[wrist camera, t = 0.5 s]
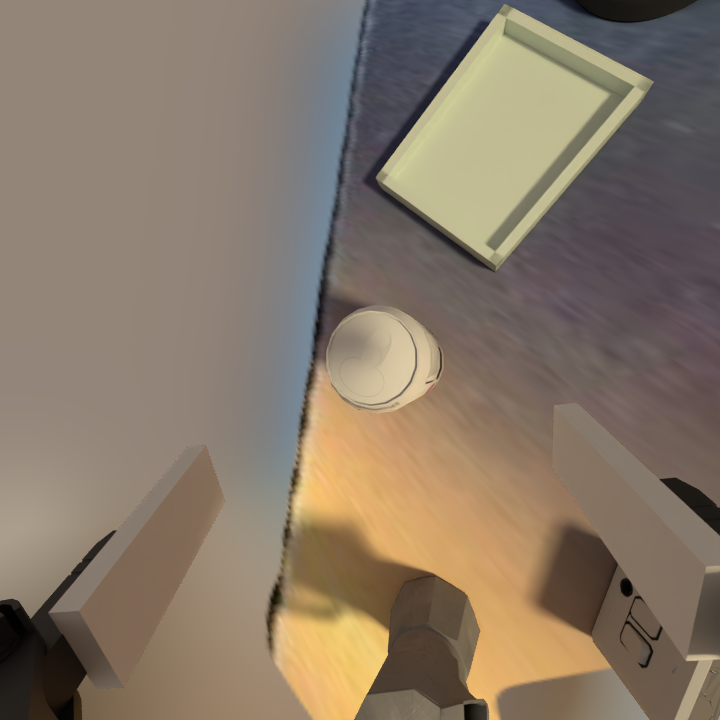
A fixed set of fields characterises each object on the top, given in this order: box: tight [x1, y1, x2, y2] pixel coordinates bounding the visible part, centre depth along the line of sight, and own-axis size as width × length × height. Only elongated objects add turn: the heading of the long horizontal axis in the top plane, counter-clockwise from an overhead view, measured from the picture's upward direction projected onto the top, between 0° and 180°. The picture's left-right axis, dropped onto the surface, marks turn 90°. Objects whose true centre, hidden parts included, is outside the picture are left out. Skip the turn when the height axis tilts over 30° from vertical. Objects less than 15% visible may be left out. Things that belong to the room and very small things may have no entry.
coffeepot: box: [354, 576, 489, 720], centre depth 32 cm, size 15×9×18 cm, turn 132°
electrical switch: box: [592, 564, 720, 720], centre depth 31 cm, size 9×5×9 cm, turn 162°
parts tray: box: [376, 4, 653, 272], centre depth 38 cm, size 20×16×2 cm
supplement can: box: [326, 305, 444, 413], centre depth 34 cm, size 8×8×15 cm
